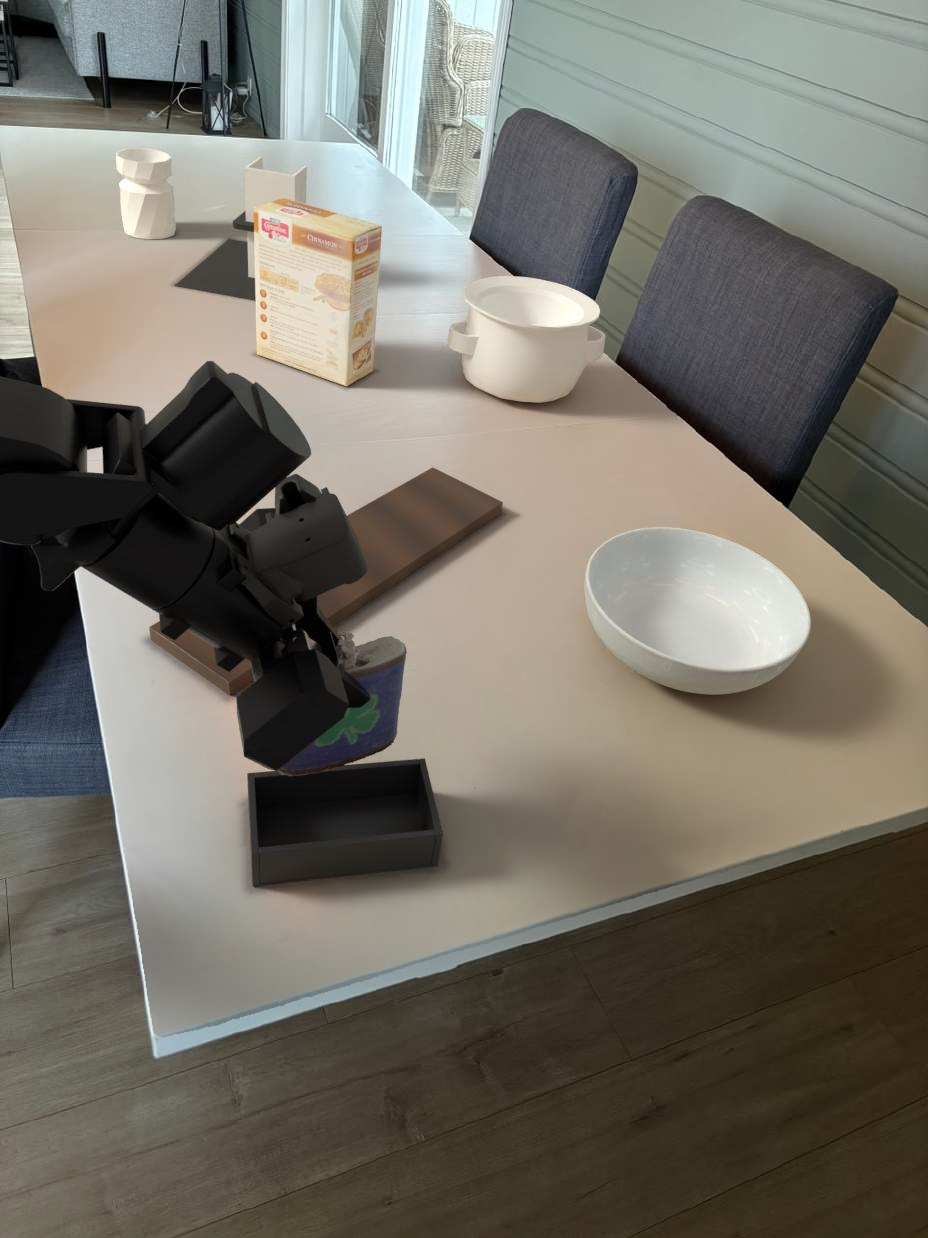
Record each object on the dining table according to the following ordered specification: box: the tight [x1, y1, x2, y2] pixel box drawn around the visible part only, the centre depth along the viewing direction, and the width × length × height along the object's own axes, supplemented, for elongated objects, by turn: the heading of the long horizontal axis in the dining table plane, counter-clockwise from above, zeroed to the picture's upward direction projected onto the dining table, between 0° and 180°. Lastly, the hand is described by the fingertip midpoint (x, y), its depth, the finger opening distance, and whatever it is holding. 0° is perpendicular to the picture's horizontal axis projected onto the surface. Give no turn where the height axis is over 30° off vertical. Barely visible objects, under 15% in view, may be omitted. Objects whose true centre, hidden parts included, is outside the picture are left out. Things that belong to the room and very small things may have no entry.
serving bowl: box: [584, 526, 812, 695], centre depth 86 cm, size 21×21×7 cm
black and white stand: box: [174, 156, 308, 301], centre depth 144 cm, size 25×24×16 cm
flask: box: [277, 631, 408, 776], centre depth 62 cm, size 9×3×11 cm, turn 117°
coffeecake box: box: [254, 198, 383, 387], centre depth 120 cm, size 15×7×20 cm, turn 63°
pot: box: [446, 275, 607, 404], centre depth 124 cm, size 22×17×12 cm
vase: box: [115, 147, 177, 240], centre depth 153 cm, size 9×9×12 cm
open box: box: [246, 757, 444, 887], centre depth 65 cm, size 13×7×4 cm, turn 102°
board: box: [148, 466, 504, 696], centre depth 91 cm, size 40×10×2 cm, turn 143°
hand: (360, 684), depth 61 cm, fingers closed on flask, 3 cm apart
